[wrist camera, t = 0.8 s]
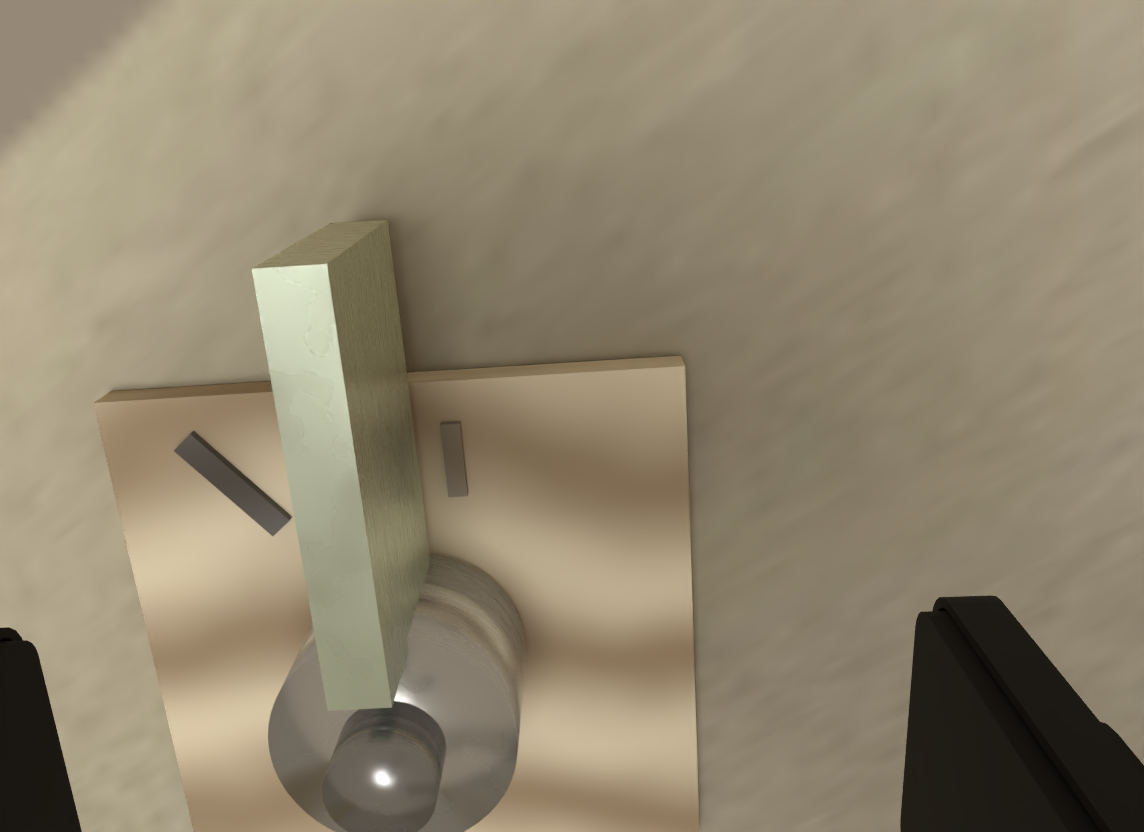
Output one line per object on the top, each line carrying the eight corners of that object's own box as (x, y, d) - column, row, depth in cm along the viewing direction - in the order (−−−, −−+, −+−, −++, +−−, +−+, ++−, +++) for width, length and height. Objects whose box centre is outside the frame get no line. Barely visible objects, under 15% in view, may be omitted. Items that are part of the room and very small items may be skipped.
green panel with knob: (534, 733, 33) (522, 908, 26) (329, 744, 34) (263, 921, 27) (485, 210, 28) (453, 255, 21) (240, 227, 28) (125, 277, 21)
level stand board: (696, 824, 36) (700, 855, 35) (215, 848, 37) (200, 879, 36) (681, 355, 31) (686, 368, 29) (111, 391, 31) (88, 406, 30)
